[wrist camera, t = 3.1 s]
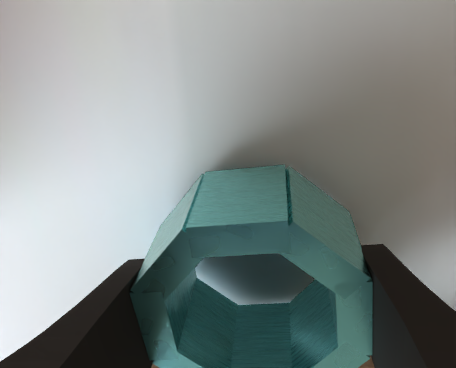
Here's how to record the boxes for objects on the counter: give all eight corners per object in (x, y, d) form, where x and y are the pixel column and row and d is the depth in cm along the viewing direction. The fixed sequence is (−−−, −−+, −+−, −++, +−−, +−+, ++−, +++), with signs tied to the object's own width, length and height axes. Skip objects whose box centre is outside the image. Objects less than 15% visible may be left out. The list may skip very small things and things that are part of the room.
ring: (183, 325, 14) (163, 405, 12) (147, 177, 12) (111, 233, 9) (353, 319, 14) (372, 403, 11) (349, 158, 11) (372, 214, 8)
